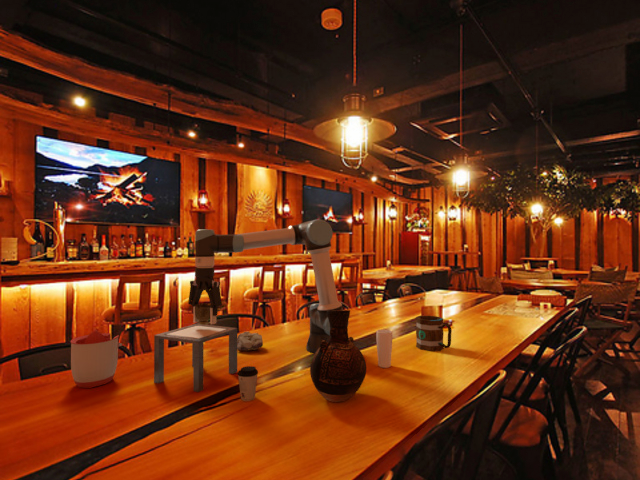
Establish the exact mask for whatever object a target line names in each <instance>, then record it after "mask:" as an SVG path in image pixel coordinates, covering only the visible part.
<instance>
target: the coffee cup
mask: <svg viewBox="0 0 640 480" xmlns="http://www.w3.org/2000/svg"><path fill="white" fill-rule="evenodd" d="M258 374H259V370H258V369H257V367H256V366H251V365H250V366H248V365H247V366H243V367H241V368H240V369H239V370H238V371H237V376H238V377H237V378H238V384H239V392H240V393H239V394H240V399H241V401H243V402H250V401H253V400H254V399H255V398H256V389H257V380H258Z"/></svg>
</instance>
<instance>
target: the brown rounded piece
mask: <svg viewBox="0 0 640 480" xmlns="http://www.w3.org/2000/svg"><path fill="white" fill-rule="evenodd" d="M211 307H212V306H211V303H210V305H209V304H208V302H207V303H206V302H203V303H202V302H201V303H198V304H196V305H195V316H196V319H197V320H199V322H197V324H200V325H208V321H209V320H210V308H211Z"/></svg>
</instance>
